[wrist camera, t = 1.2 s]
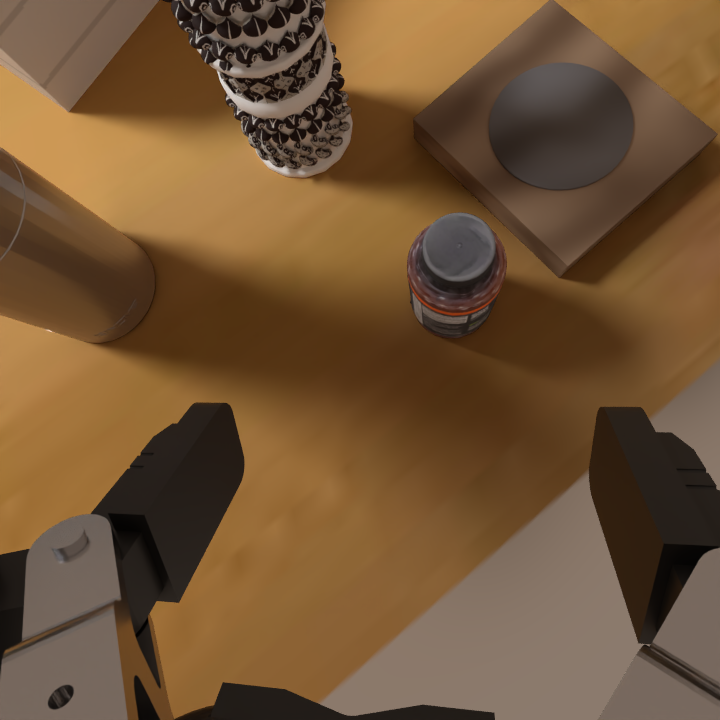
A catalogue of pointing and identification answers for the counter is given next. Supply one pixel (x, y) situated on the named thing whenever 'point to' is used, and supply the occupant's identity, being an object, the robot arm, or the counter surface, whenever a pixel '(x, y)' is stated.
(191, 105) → the counter surface
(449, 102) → the base board
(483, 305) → the supplement bottle
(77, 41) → the pizza boxes
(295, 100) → the decorative candle
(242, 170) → the counter surface
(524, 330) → the counter surface
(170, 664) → the counter surface
